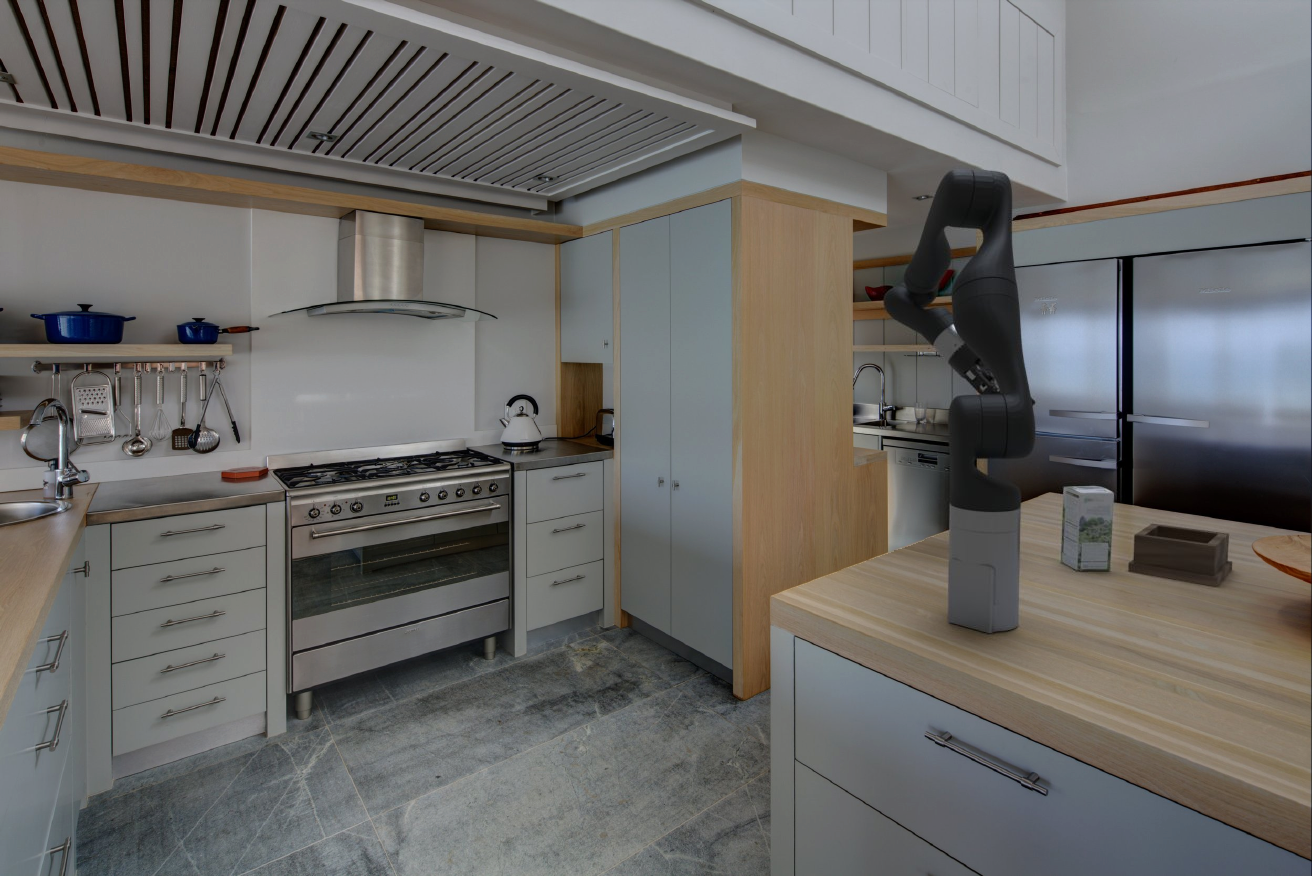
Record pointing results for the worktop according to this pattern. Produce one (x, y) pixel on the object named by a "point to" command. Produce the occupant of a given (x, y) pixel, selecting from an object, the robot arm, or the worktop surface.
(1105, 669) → the worktop surface
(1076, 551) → the syrup box
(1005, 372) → the robot arm
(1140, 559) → the holder
